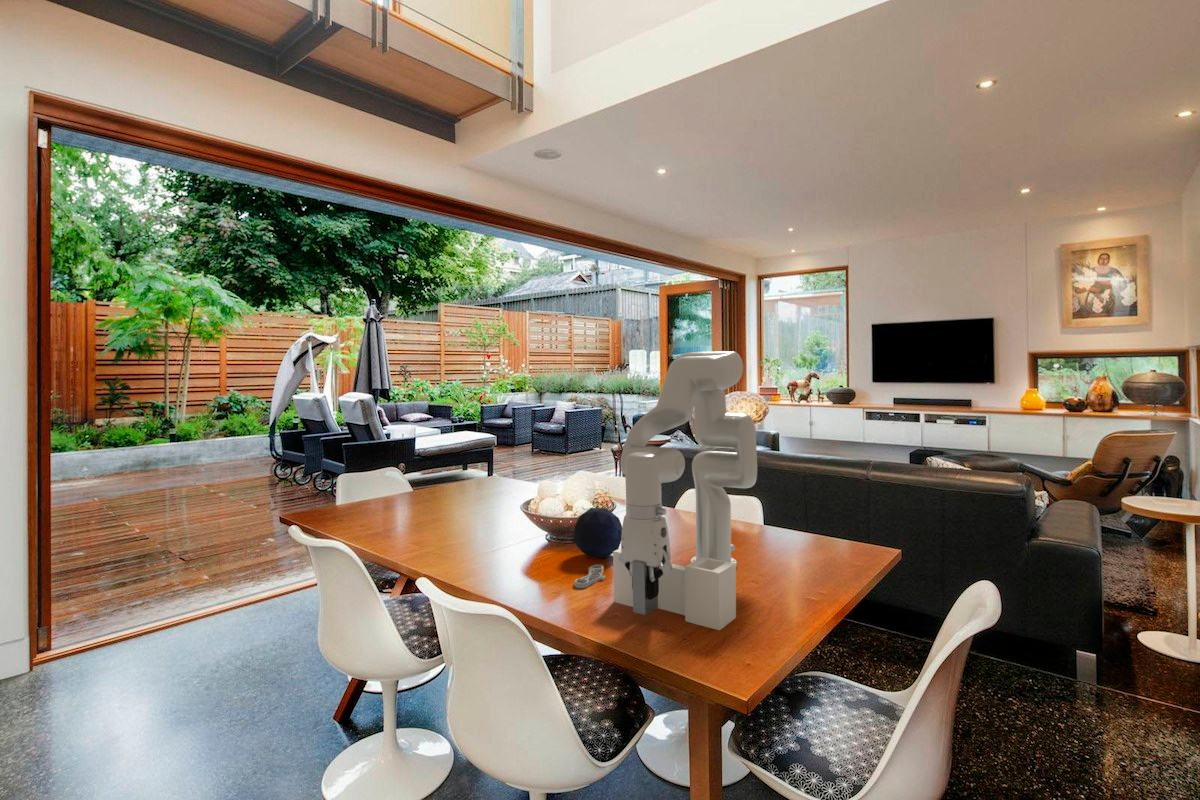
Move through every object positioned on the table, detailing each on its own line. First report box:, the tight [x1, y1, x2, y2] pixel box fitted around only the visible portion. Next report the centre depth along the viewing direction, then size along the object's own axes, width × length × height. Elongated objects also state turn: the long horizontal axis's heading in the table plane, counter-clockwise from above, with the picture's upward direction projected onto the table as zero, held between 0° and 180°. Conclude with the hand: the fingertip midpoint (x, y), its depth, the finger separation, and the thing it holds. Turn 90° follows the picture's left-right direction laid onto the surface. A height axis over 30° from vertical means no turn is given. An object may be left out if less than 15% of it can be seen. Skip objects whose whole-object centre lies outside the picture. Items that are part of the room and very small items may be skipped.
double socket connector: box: [612, 547, 737, 631], centre depth 136 cm, size 8×27×12 cm, turn 52°
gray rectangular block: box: [632, 561, 659, 616], centre depth 129 cm, size 5×3×11 cm, turn 142°
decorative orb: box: [573, 507, 623, 559], centre depth 176 cm, size 14×15×15 cm
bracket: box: [574, 564, 606, 589], centre depth 157 cm, size 8×2×15 cm
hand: (645, 594), depth 129 cm, fingers closed on gray rectangular block, 3 cm apart
